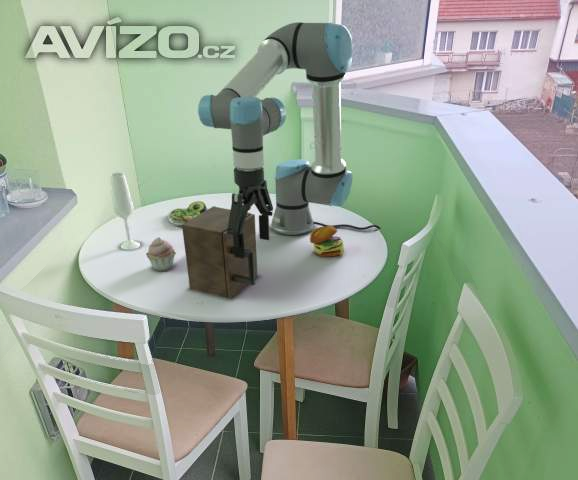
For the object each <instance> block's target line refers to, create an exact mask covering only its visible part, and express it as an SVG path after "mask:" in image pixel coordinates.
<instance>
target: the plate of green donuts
mask: <svg viewBox="0 0 578 480" xmlns="http://www.w3.org/2000/svg"><path fill="white" fill-rule="evenodd" d="M208 209H210V207H207V205H206V204H205V203H204V201H200V200H199V201H193V202H191V203H190V204H189V205H188V206H187V207H179V208H174V209H172V210H170V211H169V212H168V214H167V218H168V222H169V223H170V224H171V225H174V226H175V227H178V228H182V224H184V223H186V222H187V221H189V220H191V219H193V218H194V217H196V216H198V215H199V214H201V213H203V212H205V211H206V210H208Z"/></svg>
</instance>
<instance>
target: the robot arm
mask: <svg viewBox="0 0 578 480" xmlns="http://www.w3.org/2000/svg"><path fill="white" fill-rule="evenodd" d="M352 40H353V39H352V35H351V33H350V31H349V29H348V28H347V27H346V26H345V25H343V24H341V23H340V24H339V23H333V22H297V21H296V22H292V23H291V22H290V23H288V24H285V25H284V26H281V27H279V28H278V29H276V30H275V31H273V32H271V33H270V34H269V35H267V37H266V38H264V39H263V41H261V43H260V44H259V45H258V47H257V52H256V53H255V55H253V57H252V58H251V59H250V60H248V61H247V63H245V64H244V66H243V67H241V69H240V70H239V71H238V72H237V73H236V74H235V75H234V76H233V77H232V79H231V80H230V81H229V82H228V83H227V84H226V85H225V86H224V87H223V88H222V89H221V90H220V91H219V92H218V93H217V94H216V95H214V94H207V95H203V96H202V97H201V98H200V100H199V102H198V107H197V114H198V117H199V121H200V122H201V124H202V125H203V126H205V127H207V128H208V127H209V128H214V129H223V130H231V131H230V132H231V144H232V158H233V159H232V162H233V166H234V168H233V182H234V184H235V185H237V187H238V193H236V192H233V193H232V194H231V205H230V210H231V211H230V216H229V222H228V228H227V233H228V234H232V235H233V245H234V257H238V258H245V253H244V235H243V234H242V229H243V226H244V223H245V219H246V216H247V213H249V211H250V210H251V209H252V206H253V205H254V206H255V207H256V209H257V210H258V212H259V215H258V231H259V232H258V233H259V236H258V237H259V240H264V241H269V240H270V217H272V219H271V229H272V231H273V232H275V233H277V234H279V235H284V236H299V235H300V236H301V235H305V234H308V233H310V232H312V231H313V230H314V225H317V226H320V227H324V226H330V225H331V224H330V225H329V224H325V223H322V222H318V221H314V219H313V216H312V213H311V209H310V204H316V205H323V206H329V207H342V206H343V205H344V204H345V203H346V201H347V200H348V198H349V196H350V192H351V189H352V186H353V185H352V184H353V173H352V172H351V171H350V170H347V163H346V161H345V160H344V159H343V158H342V105H341V103H342V101H341V100H342V99H341V98H342V97H341V96H342V95H341V93H342V92H341V91H342V90H341V89H342V88H341V83H342V81H343V80H344V79H345V77H346V72H348V71H349V70H350V69H351V66H352V64H353V55H354V50H353V49H354V48H353V41H352ZM290 69H297V70H298V69H299V70H305V77H306V80H307V81H308V82H309V83H310V84H311V94H312V95H311V96H312V97H311V99H312V119H313V122H312V123H313V140H314V143H313V145H314V161H313V162H312V163H311V164H310V161H309V160H307V159H302V158H301V159H300V158H299V159H298V158H297V159H290V160H285V161H282V162H280V163H279V164H277V165H276V168H275V175H274V181H275V210H274V206H273V203H272V200H271V197H270V193H269V190H268V184H267V180H266V179H265V168H264V165H265V162H264V161H265V159H264V136H266V135H268V134H270V133H273V132H276V131H277V130H279V128H281V127H282V126H283V125H284V124H285V121H286V119H287V110H286V107H285V105H284V103H283V102H282V101H281V100H280V99H279V98H276V97H265V98H263V99H260V98H259V97H258V95H260V94H261V92H262V91H263V90H264V89H265V88H266V87H267V86H268V84H269V83H270V82H271V81H272V80H273V79H274V77H276V75H281V74H282V73H284V72H285V71H286V70H290ZM309 203H310V204H309ZM273 210H274V213H273ZM332 226H333V227H335V228H343V227H345V228H349V229H354V230H361V231H363V230H368V229H372V228H376V229H378V230H381V229H382V228H381V227H380V226H379V225H377V224H371V225H367V226H364V227H363V226H362V227H359V226H355V225H351V224H345V223H343V224H333V225H332Z"/></svg>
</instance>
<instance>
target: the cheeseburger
mask: <svg viewBox="0 0 578 480" xmlns="http://www.w3.org/2000/svg"><path fill="white" fill-rule="evenodd" d="M336 233H338V229H337V227H333V226H332V225H331V224H330V226H319V227H316V228H313V229H312V230H311V233H310V236H309V241H310V243H311V244H313V249H314V252H315V254H316V255H318V256H320V257H325V258H328V257H329V258H330V257H334V256H335V257H336V256H338V255H339V256H341V255H342V254H344V252H345V247H344V244H343V243H344V240H343V238H341V236H335V235H336Z"/></svg>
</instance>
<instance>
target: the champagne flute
mask: <svg viewBox="0 0 578 480" xmlns="http://www.w3.org/2000/svg"><path fill="white" fill-rule="evenodd" d="M109 184H110V191H111V193H110V194H111V203H112V210H113V212H114V214H116V216H118V217H119V218H121V219H123V223H124V228H125V229H124V230H125V233H126V239H127V240H125V242H124V243H122V244H120V249H122V250H126V251H131V250H136V249H139V248H140V247H141V243H140V242H138V241H135V240H133V239H132V238H131V231H130V227H129V226H130V225H129V221H128V218H129V217H130V216H131V215H132V214H133V213H134V210H135V207H134V203H133V200H132V195H131V192H130V189H129V183H128V181H127V177H126V174H125V173H124V172H112V173H110V174H109Z"/></svg>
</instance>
